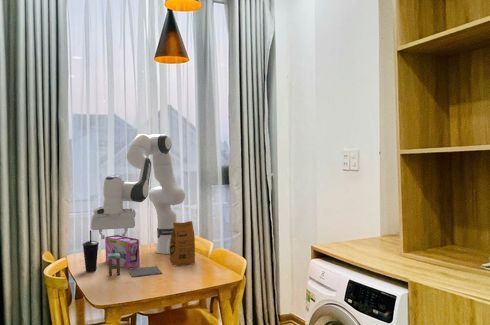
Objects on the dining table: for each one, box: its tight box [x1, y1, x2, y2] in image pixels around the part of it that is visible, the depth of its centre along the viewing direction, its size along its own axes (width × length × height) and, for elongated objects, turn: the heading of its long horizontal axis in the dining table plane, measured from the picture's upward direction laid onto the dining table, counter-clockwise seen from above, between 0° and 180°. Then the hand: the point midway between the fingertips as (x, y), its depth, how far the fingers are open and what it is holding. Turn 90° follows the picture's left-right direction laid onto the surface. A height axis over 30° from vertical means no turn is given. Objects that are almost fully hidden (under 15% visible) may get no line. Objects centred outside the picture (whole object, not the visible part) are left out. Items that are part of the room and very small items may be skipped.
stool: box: [108, 253, 121, 277], centre depth 198 cm, size 5×5×10 cm
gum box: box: [104, 234, 141, 269], centre depth 219 cm, size 24×8×14 cm, turn 46°
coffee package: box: [169, 220, 196, 267], centre depth 218 cm, size 10×12×22 cm
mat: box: [127, 265, 163, 278], centre depth 202 cm, size 14×14×1 cm
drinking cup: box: [82, 230, 100, 273], centre depth 205 cm, size 8×8×20 cm
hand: (113, 238), depth 198 cm, fingers open, 8 cm apart
